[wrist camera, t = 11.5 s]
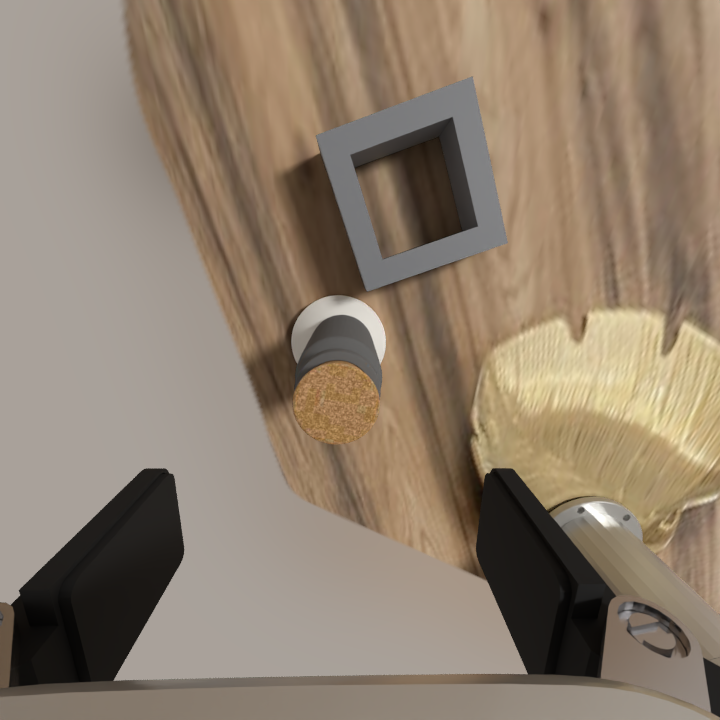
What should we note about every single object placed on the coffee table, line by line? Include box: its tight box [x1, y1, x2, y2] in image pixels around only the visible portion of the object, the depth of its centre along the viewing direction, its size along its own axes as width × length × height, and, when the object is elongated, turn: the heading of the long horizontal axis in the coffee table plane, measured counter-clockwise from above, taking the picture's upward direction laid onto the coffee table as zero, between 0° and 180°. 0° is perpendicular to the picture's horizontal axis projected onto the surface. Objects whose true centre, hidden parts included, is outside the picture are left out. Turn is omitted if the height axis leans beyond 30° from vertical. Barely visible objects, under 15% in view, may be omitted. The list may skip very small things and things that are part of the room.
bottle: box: [293, 315, 382, 444], centre depth 26 cm, size 6×6×15 cm
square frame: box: [316, 76, 508, 292], centre depth 29 cm, size 12×12×4 cm
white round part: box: [291, 295, 386, 364], centre depth 33 cm, size 9×9×1 cm
